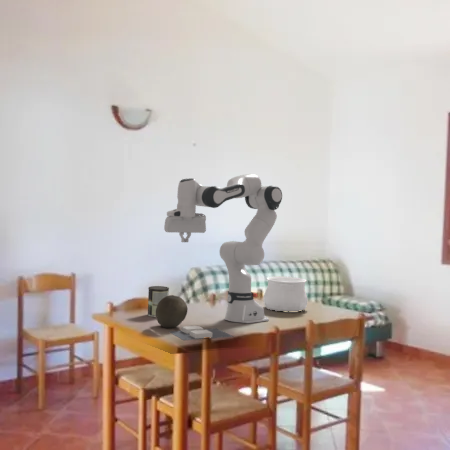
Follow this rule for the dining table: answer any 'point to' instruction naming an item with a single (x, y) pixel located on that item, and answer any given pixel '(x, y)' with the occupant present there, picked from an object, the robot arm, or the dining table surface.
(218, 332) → the mat
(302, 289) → the pot
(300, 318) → the dining table surface
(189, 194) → the robot arm
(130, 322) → the dining table surface
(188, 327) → the tile
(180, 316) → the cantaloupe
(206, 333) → the tile
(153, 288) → the coffee can
